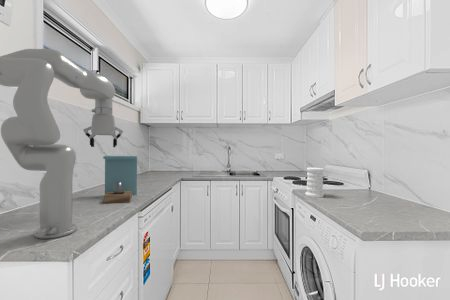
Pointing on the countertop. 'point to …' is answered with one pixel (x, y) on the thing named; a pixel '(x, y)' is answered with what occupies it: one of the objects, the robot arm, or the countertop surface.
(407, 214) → the countertop surface
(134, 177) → the teal upright box
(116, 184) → the peg
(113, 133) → the robot arm
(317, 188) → the decorative container
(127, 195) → the socket block
